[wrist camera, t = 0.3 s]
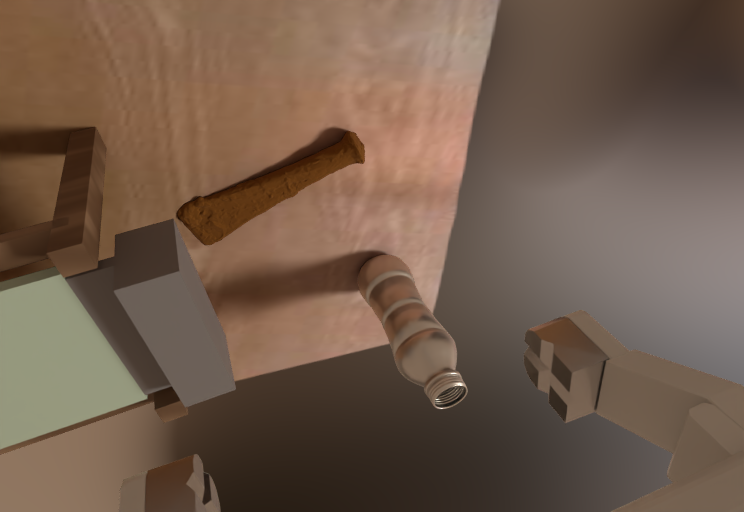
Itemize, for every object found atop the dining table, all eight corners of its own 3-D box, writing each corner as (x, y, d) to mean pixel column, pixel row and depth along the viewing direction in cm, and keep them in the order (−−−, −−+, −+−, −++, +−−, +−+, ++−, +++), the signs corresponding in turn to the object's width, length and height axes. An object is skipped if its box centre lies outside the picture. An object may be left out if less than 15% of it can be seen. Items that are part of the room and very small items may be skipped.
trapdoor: (-171, 307, 32) (-219, 382, 27) (170, 212, 36) (176, 265, 32) (-32, 425, 41) (-51, 494, 37) (227, 339, 45) (237, 393, 41)
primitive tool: (205, 244, 53) (209, 265, 51) (171, 208, 49) (173, 228, 47) (363, 149, 53) (375, 165, 50) (341, 106, 49) (352, 120, 47)
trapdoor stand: (-165, 188, 38) (-298, 348, 26) (95, 126, 42) (82, 243, 30) (-16, 345, 51) (-60, 502, 39) (175, 287, 54) (188, 414, 43)
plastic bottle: (394, 287, 67) (468, 413, 52) (346, 289, 64) (410, 423, 49) (408, 247, 63) (491, 370, 49) (358, 247, 60) (431, 378, 46)
